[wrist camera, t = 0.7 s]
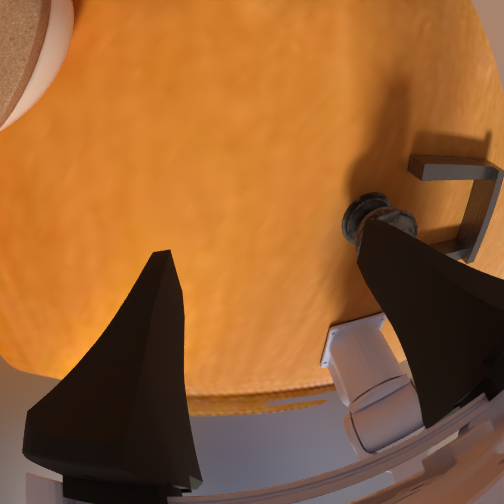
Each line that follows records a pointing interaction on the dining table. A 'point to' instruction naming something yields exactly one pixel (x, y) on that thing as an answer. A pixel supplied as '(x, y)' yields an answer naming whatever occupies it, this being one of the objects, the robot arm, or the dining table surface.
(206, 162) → the dining table surface
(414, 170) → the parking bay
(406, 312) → the robot arm
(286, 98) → the dining table surface
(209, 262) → the dining table surface
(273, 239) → the dining table surface
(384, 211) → the weathered grey candle holder
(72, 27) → the lidded jar
